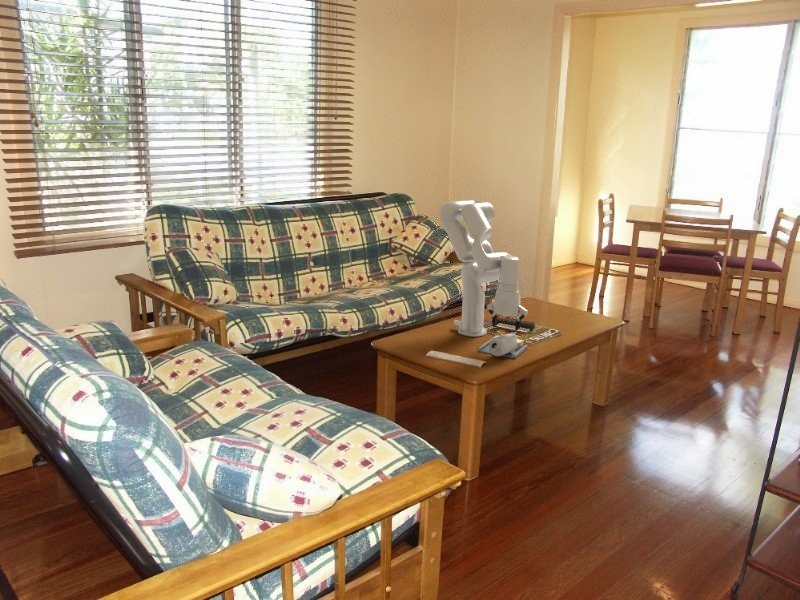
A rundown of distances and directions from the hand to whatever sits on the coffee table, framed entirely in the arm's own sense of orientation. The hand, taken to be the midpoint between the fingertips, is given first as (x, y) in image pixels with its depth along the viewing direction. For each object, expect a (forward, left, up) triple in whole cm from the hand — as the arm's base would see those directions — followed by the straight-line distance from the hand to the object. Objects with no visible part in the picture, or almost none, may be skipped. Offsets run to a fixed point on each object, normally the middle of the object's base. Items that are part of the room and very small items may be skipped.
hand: (506, 327), depth 290 cm
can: (+3, -2, -5) cm, 6 cm away
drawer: (0, -2, -9) cm, 9 cm away
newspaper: (-12, -21, -10) cm, 26 cm away
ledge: (0, +3, -9) cm, 10 cm away
